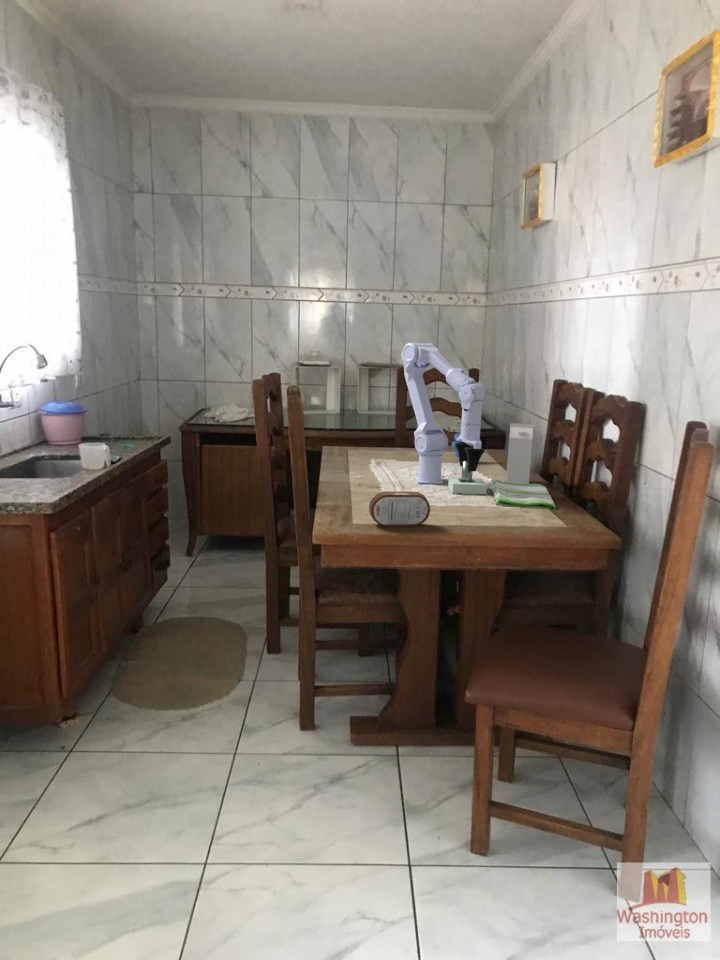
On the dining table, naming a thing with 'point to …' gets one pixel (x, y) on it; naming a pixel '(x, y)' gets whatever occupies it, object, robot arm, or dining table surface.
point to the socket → (467, 486)
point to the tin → (399, 508)
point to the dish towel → (521, 495)
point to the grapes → (456, 442)
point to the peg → (466, 473)
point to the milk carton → (519, 453)
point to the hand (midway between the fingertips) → (467, 468)
